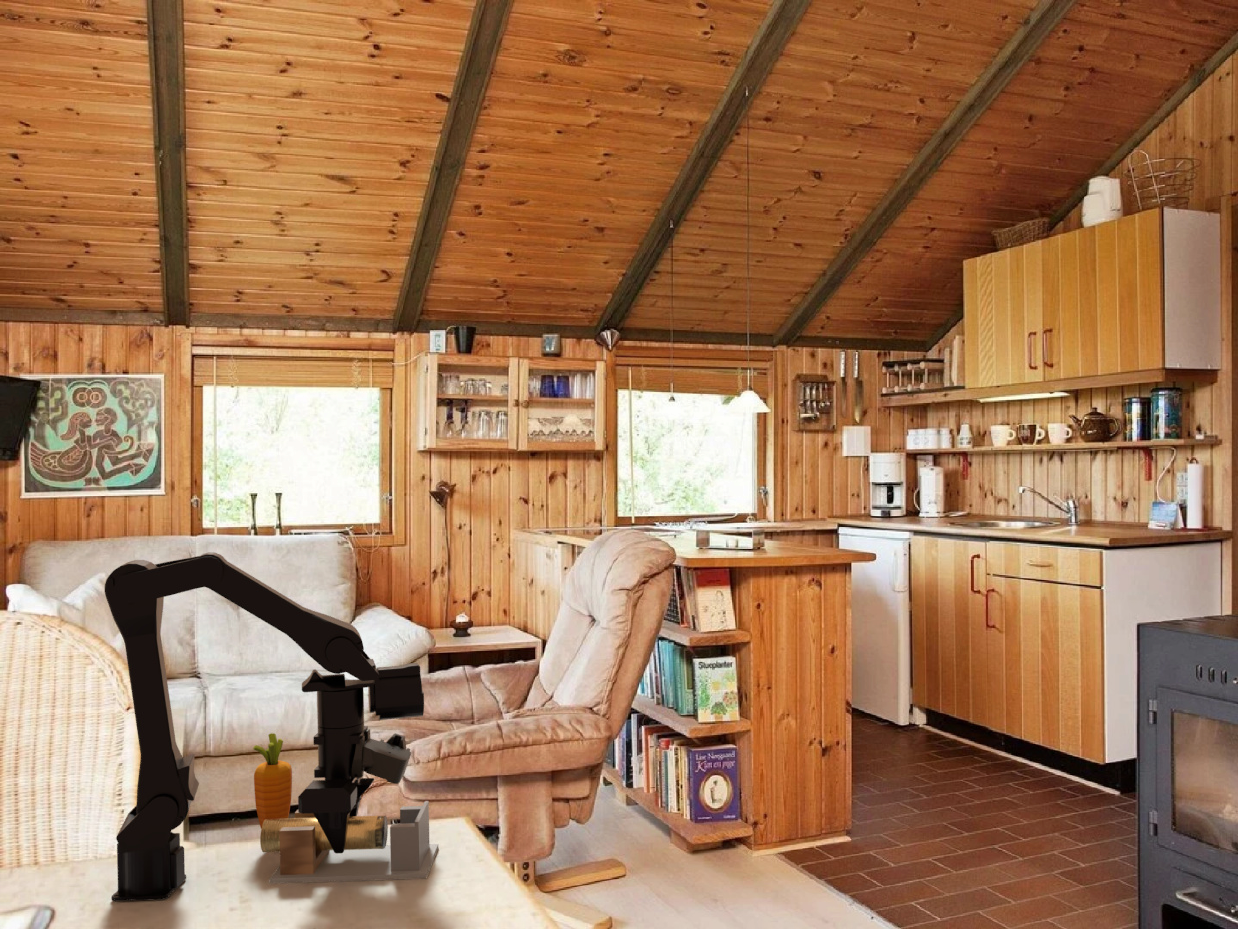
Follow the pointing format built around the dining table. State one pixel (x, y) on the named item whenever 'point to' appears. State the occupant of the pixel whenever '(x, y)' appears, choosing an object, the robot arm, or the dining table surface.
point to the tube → (359, 835)
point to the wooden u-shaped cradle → (299, 849)
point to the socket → (410, 838)
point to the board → (358, 867)
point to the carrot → (272, 783)
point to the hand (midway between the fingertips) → (343, 846)
